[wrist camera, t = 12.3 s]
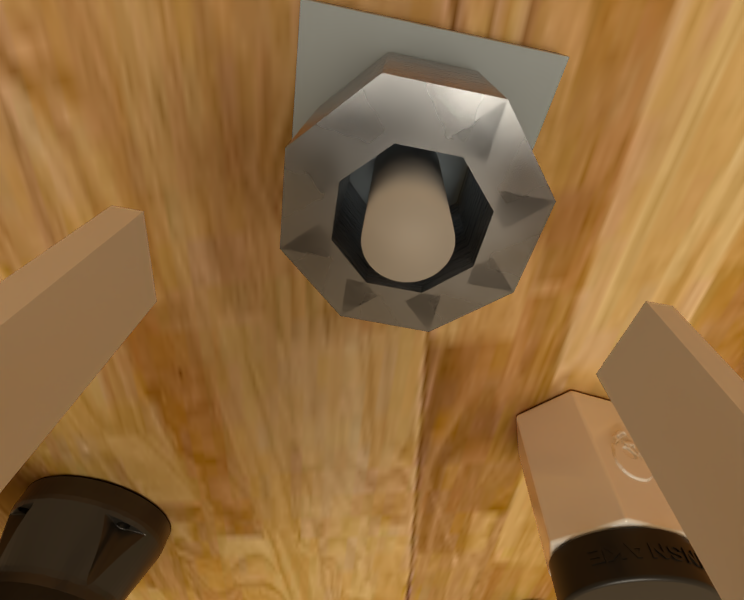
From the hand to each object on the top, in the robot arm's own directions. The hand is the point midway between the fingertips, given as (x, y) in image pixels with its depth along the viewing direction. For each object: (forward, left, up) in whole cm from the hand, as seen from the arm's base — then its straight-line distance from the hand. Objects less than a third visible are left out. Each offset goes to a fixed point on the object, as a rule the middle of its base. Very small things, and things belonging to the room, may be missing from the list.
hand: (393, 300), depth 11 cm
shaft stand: (0, 0, -12) cm, 12 cm away
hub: (0, 0, -10) cm, 10 cm away
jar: (+17, -18, -13) cm, 28 cm away
